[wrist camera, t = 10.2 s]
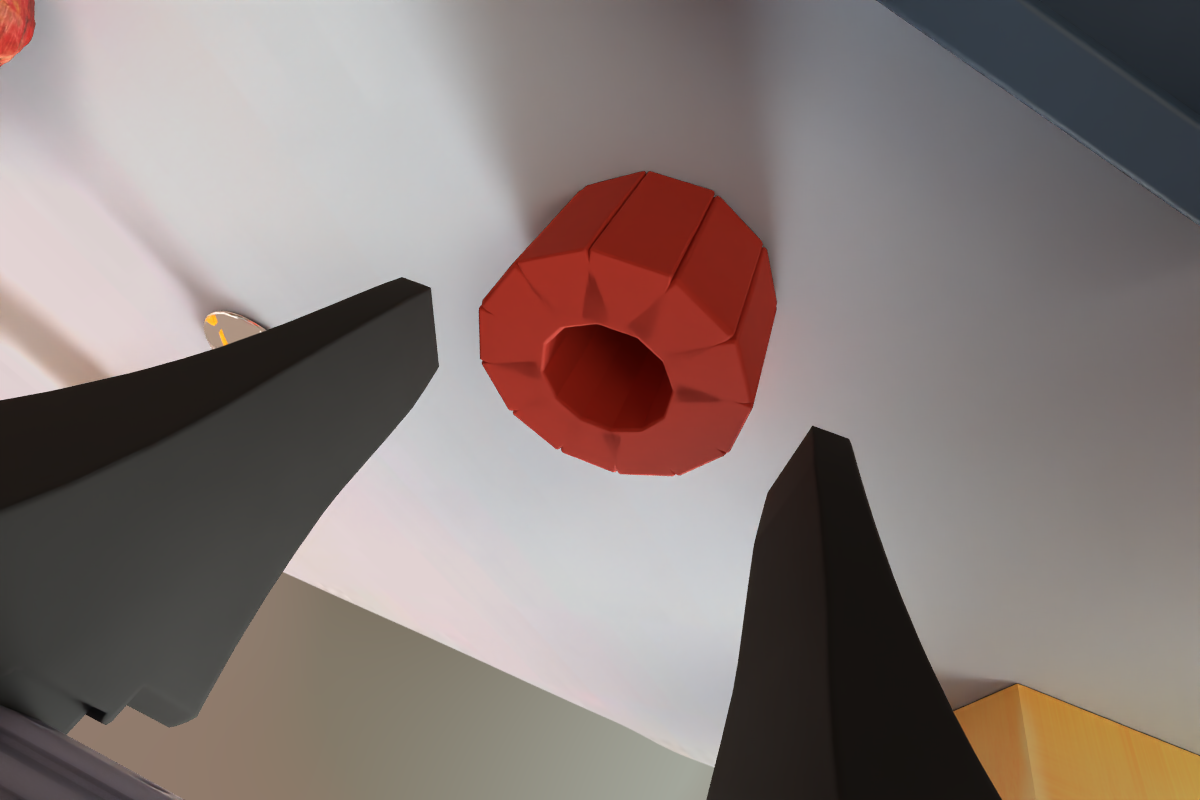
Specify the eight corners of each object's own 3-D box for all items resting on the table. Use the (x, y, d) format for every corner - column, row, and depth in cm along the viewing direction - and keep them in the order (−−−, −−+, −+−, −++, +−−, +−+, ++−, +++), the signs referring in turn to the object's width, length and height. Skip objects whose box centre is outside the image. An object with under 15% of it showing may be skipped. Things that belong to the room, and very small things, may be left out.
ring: (817, 222, 10) (799, 318, 8) (728, 409, 14) (700, 508, 12) (555, 140, 11) (475, 209, 9) (539, 340, 15) (480, 421, 13)
